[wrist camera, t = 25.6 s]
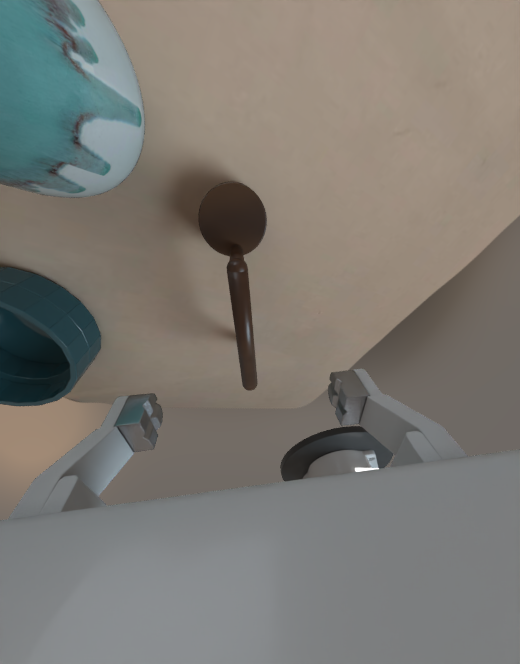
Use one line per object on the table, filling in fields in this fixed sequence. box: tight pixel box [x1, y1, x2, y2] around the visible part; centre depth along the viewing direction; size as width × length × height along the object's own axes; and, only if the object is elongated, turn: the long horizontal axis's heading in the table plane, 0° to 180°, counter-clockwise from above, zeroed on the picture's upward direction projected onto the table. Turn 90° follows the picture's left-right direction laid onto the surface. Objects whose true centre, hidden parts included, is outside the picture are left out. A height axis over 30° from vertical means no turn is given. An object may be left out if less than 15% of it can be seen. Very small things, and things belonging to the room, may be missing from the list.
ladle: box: [199, 182, 267, 390], centre depth 23 cm, size 19×6×9 cm, turn 3°
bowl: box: [0, 267, 101, 406], centre depth 25 cm, size 14×14×6 cm
